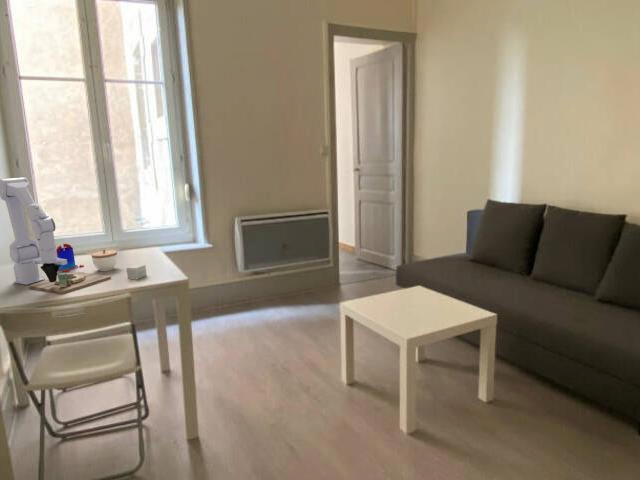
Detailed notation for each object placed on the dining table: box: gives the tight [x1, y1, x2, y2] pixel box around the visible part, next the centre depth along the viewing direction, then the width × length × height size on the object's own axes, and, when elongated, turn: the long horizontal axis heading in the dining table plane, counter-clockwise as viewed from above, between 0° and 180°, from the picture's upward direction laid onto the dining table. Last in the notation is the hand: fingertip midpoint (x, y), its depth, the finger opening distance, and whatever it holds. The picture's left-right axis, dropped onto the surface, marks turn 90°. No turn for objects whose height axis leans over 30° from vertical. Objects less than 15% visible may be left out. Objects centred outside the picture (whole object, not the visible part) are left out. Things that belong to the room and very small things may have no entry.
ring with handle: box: [55, 272, 86, 287], centre depth 189 cm, size 15×11×5 cm
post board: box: [27, 271, 112, 295], centre depth 191 cm, size 22×22×4 cm
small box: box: [125, 264, 148, 280], centre depth 196 cm, size 6×6×5 cm
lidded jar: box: [90, 249, 118, 272], centre depth 211 cm, size 11×11×9 cm
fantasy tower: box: [56, 243, 85, 273], centre depth 215 cm, size 12×12×12 cm
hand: (53, 281), depth 184 cm, fingers closed
